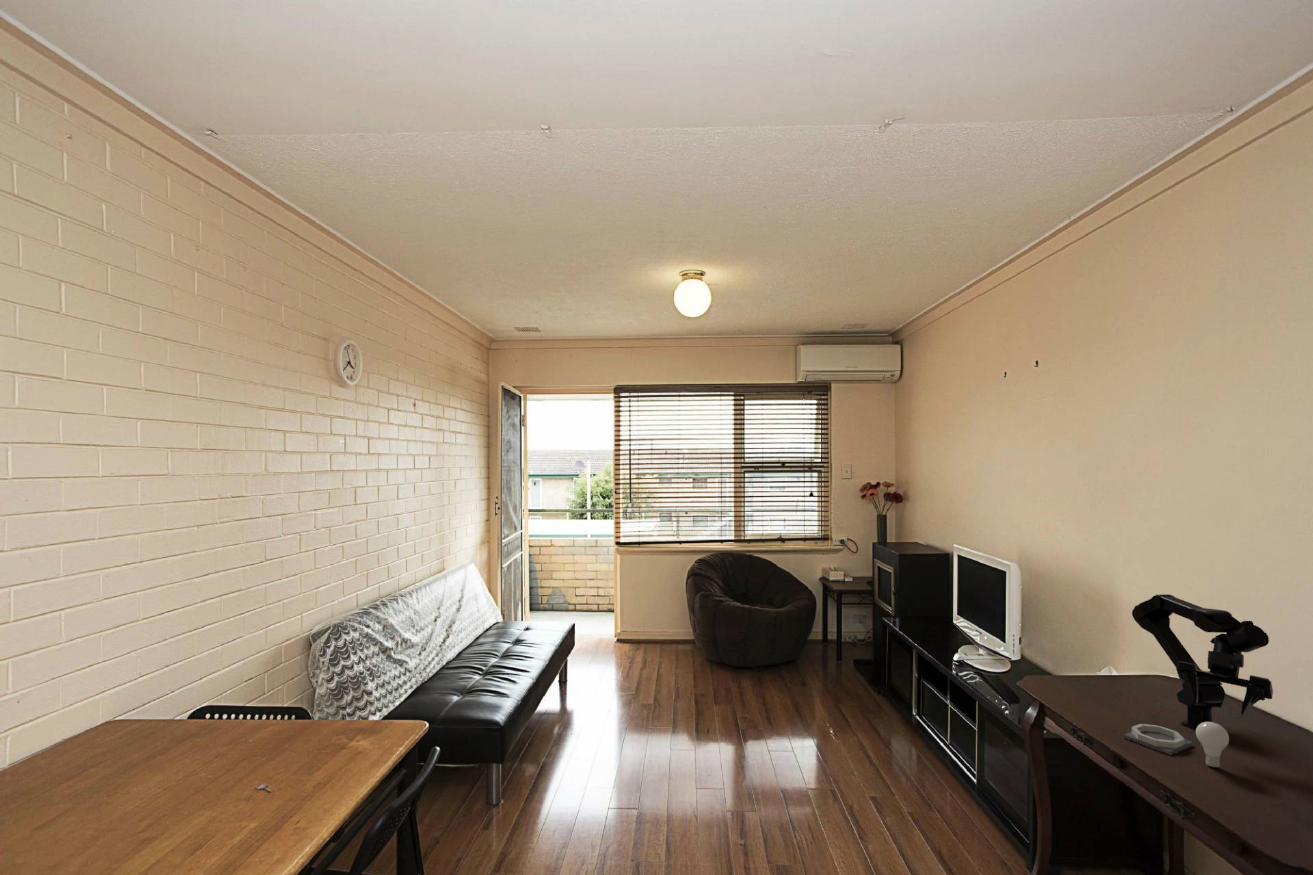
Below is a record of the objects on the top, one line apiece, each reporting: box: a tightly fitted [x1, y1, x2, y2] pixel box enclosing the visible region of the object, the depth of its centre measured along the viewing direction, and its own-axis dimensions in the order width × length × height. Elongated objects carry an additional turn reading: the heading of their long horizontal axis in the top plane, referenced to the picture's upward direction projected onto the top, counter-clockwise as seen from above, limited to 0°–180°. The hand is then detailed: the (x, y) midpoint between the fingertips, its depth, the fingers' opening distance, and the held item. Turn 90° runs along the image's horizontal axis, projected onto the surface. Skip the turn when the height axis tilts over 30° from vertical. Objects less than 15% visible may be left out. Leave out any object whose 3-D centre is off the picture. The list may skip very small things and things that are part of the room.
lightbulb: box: [1195, 721, 1230, 768], centre depth 164 cm, size 6×6×11 cm
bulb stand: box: [1123, 723, 1193, 756], centre depth 177 cm, size 11×11×2 cm
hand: (1218, 708), depth 168 cm, fingers open, 9 cm apart
